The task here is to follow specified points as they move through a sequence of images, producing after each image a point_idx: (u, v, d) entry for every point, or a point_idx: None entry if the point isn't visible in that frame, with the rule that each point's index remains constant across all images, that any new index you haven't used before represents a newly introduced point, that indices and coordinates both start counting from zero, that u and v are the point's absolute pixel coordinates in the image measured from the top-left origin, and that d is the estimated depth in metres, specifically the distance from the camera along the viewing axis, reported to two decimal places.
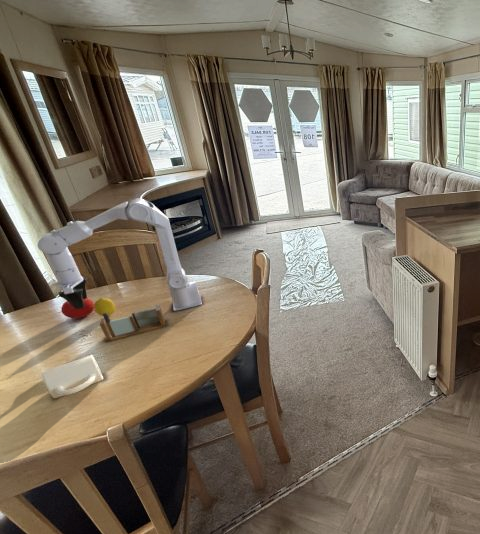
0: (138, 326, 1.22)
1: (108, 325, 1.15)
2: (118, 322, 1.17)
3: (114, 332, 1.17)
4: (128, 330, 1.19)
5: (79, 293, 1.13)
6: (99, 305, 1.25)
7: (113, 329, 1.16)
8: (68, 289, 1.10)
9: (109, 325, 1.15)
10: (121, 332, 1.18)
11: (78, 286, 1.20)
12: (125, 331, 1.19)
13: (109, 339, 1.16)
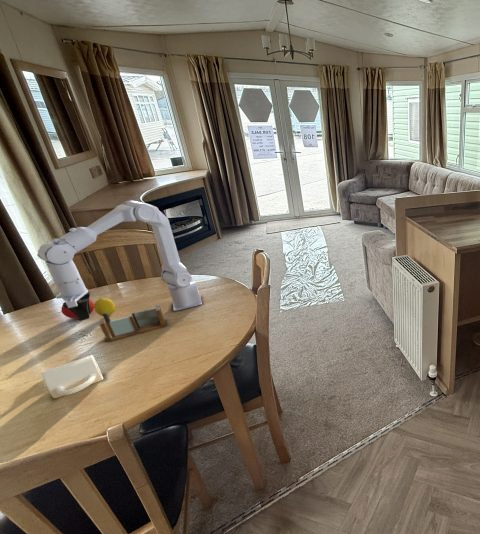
0: (138, 326, 1.22)
1: (108, 325, 1.15)
2: (118, 322, 1.17)
3: (114, 332, 1.17)
4: (128, 330, 1.19)
5: (84, 303, 1.07)
6: (99, 305, 1.25)
7: (113, 329, 1.16)
8: (72, 302, 1.02)
9: (109, 325, 1.15)
10: (121, 332, 1.18)
11: None
12: (125, 331, 1.19)
13: (109, 339, 1.16)
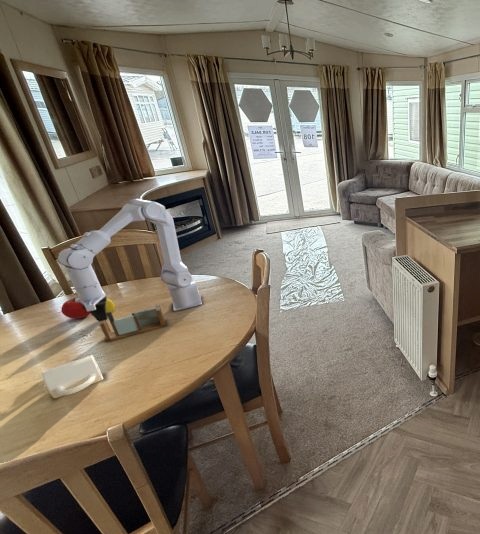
0: None
1: (112, 324, 1.16)
2: (122, 321, 1.17)
3: (118, 331, 1.18)
4: (132, 329, 1.20)
5: (103, 305, 1.11)
6: None
7: (117, 328, 1.17)
8: (91, 306, 1.06)
9: (113, 324, 1.16)
10: (125, 331, 1.19)
11: (98, 306, 1.13)
12: (129, 330, 1.19)
13: (109, 339, 1.16)
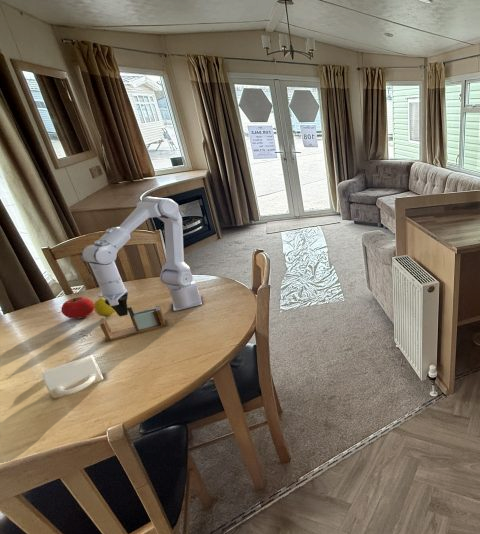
0: None
1: (132, 319, 1.19)
2: (142, 316, 1.20)
3: (138, 326, 1.21)
4: (151, 324, 1.23)
5: (124, 300, 1.14)
6: (99, 305, 1.25)
7: (136, 323, 1.20)
8: (114, 301, 1.09)
9: (133, 319, 1.19)
10: (144, 326, 1.22)
11: None
12: (148, 325, 1.22)
13: (109, 339, 1.16)
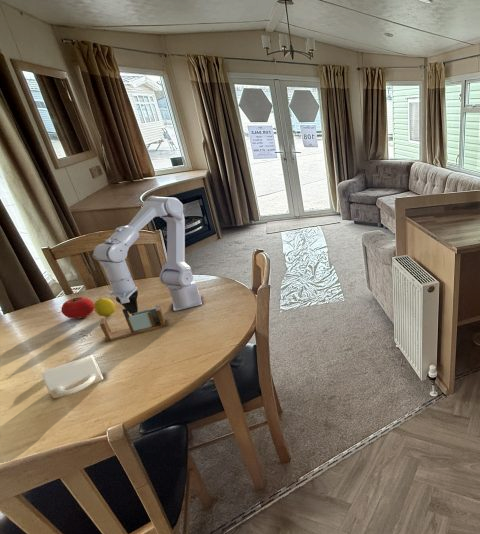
0: None
1: (127, 320, 1.18)
2: (137, 317, 1.20)
3: (133, 327, 1.20)
4: (146, 325, 1.22)
5: (135, 298, 1.16)
6: (99, 305, 1.25)
7: (131, 324, 1.19)
8: (125, 299, 1.10)
9: (128, 320, 1.18)
10: (139, 327, 1.21)
11: (130, 299, 1.17)
12: (143, 326, 1.22)
13: (109, 339, 1.16)
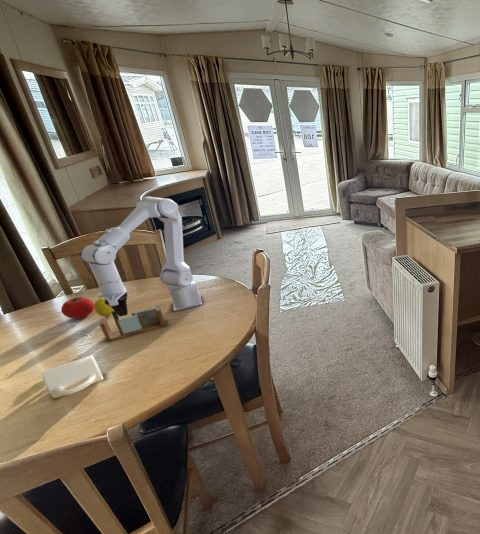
0: None
1: (117, 323, 1.16)
2: (126, 320, 1.18)
3: (122, 330, 1.18)
4: (136, 328, 1.21)
5: (124, 301, 1.14)
6: (99, 305, 1.25)
7: (121, 327, 1.18)
8: (113, 301, 1.08)
9: (118, 323, 1.17)
10: (129, 330, 1.19)
11: None
12: (133, 329, 1.20)
13: (109, 339, 1.16)
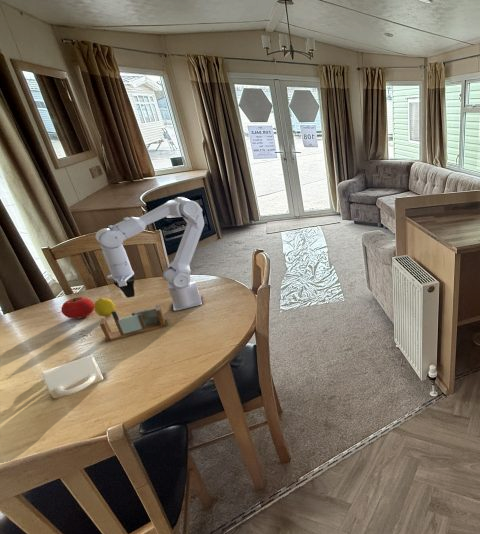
0: None
1: (117, 323, 1.16)
2: (126, 320, 1.18)
3: (122, 330, 1.18)
4: (136, 328, 1.21)
5: (132, 282, 1.21)
6: (99, 305, 1.25)
7: (121, 327, 1.18)
8: (122, 282, 1.15)
9: (118, 323, 1.17)
10: (129, 330, 1.19)
11: None
12: (133, 329, 1.20)
13: (109, 339, 1.16)
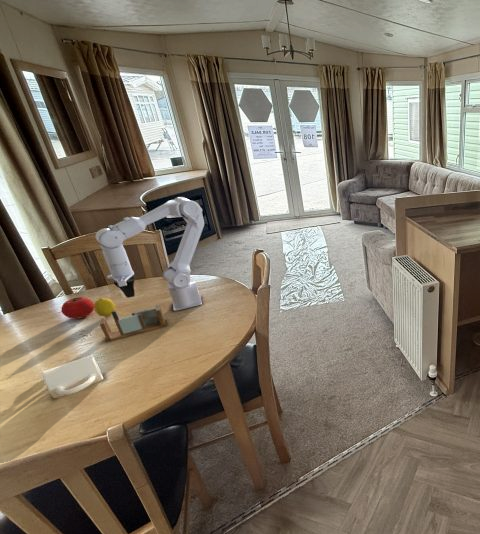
0: None
1: (117, 323, 1.16)
2: (126, 320, 1.18)
3: (122, 330, 1.18)
4: (136, 328, 1.21)
5: (132, 282, 1.21)
6: (99, 305, 1.25)
7: (121, 327, 1.18)
8: (122, 282, 1.15)
9: (118, 323, 1.17)
10: (129, 330, 1.19)
11: None
12: (133, 329, 1.20)
13: (109, 339, 1.16)
